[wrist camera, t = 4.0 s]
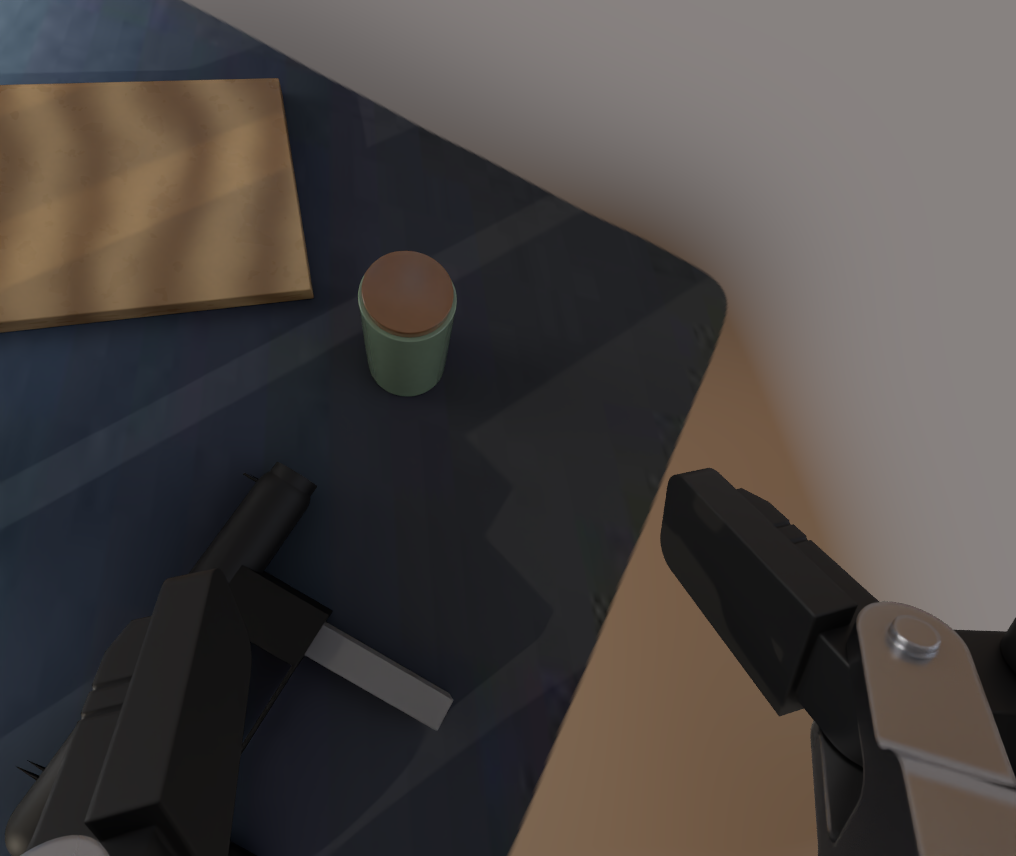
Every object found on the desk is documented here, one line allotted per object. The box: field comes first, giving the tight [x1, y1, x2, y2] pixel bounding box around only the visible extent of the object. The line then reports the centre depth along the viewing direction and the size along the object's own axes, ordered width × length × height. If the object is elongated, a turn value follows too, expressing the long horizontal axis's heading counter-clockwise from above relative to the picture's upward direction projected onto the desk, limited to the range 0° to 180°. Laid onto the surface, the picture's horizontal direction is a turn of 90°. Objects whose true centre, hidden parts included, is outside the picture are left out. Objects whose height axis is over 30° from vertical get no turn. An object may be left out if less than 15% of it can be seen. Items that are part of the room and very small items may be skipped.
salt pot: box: [358, 251, 457, 396], centre depth 31 cm, size 5×5×9 cm
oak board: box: [0, 78, 314, 333], centre depth 34 cm, size 24×16×1 cm, turn 102°
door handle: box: [5, 462, 453, 856], centre depth 28 cm, size 3×20×16 cm
